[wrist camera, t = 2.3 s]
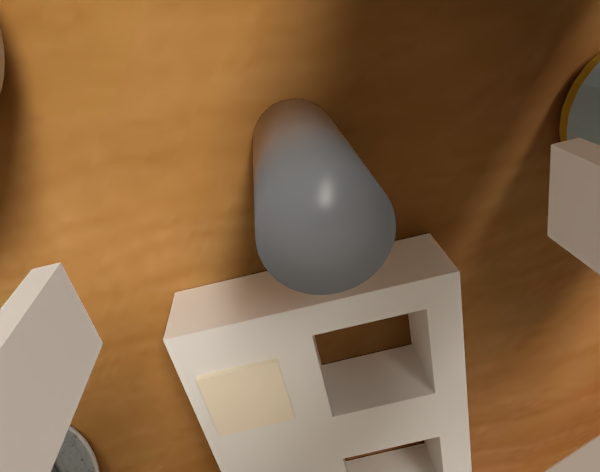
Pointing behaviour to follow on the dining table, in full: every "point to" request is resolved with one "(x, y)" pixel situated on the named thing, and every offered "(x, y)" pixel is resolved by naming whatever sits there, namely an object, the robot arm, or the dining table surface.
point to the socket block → (328, 370)
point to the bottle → (583, 106)
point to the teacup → (1, 61)
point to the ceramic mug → (75, 454)
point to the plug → (316, 203)
